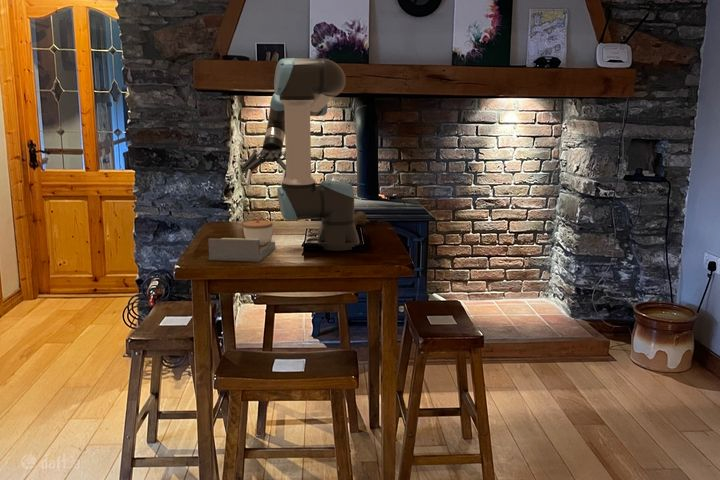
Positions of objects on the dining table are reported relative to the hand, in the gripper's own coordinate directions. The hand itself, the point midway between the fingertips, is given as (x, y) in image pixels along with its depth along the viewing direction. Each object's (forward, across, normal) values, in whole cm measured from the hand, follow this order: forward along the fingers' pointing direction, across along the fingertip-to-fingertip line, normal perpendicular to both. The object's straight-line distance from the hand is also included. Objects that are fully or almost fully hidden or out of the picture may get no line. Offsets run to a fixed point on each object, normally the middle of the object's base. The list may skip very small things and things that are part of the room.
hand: (264, 185), depth 243 cm
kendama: (-3, -28, -32) cm, 42 cm away
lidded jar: (+22, 0, -6) cm, 23 cm away
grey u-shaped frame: (+33, 0, +6) cm, 33 cm away
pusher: (+35, 0, +8) cm, 36 cm away
